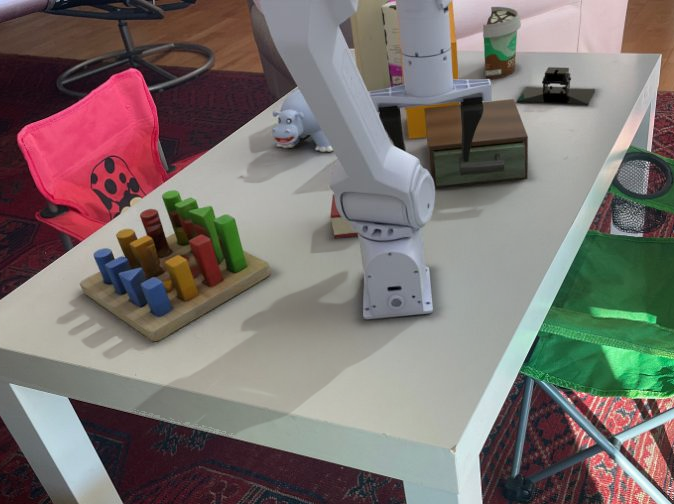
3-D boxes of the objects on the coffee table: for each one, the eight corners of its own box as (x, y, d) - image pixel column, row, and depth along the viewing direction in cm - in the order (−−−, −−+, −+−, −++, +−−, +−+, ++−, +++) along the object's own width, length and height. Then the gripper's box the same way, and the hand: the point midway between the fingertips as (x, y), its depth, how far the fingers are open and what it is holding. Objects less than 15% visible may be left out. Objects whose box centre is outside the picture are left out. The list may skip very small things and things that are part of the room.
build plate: (516, 103, 131) (516, 76, 128) (526, 88, 136) (526, 62, 133) (588, 105, 127) (589, 78, 124) (595, 90, 132) (597, 63, 129)
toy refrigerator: (403, 90, 140) (391, -34, 127) (365, 97, 139) (348, -28, 126) (395, 77, 146) (382, -43, 133) (358, 83, 145) (342, -37, 132)
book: (367, 235, 100) (363, 212, 98) (334, 238, 100) (330, 215, 98) (367, 213, 105) (364, 191, 103) (336, 216, 105) (332, 194, 103)
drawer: (528, 189, 104) (529, 157, 101) (438, 199, 104) (435, 167, 101) (512, 139, 117) (511, 109, 114) (431, 147, 118) (429, 118, 115)
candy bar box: (457, 93, 137) (452, -4, 126) (450, 103, 133) (444, 4, 123) (399, 92, 140) (389, -3, 129) (391, 102, 136) (380, 5, 126)
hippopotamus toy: (258, 161, 122) (244, 103, 116) (304, 124, 132) (293, 69, 126) (315, 167, 118) (304, 108, 112) (358, 129, 128) (349, 72, 122)
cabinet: (527, 178, 108) (527, 136, 104) (432, 188, 109) (428, 146, 105) (514, 138, 119) (513, 98, 115) (427, 147, 120) (424, 108, 116)
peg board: (81, 293, 95) (54, 234, 90) (195, 235, 104) (177, 178, 99) (155, 343, 86) (129, 280, 80) (273, 274, 95) (258, 214, 89)
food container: (517, 81, 139) (517, 24, 132) (484, 82, 140) (482, 25, 133) (524, 59, 148) (524, 4, 141) (493, 60, 149) (491, 5, 142)
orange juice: (407, 121, 129) (394, -5, 116) (458, 115, 129) (451, -11, 116) (408, 139, 123) (395, 8, 110) (462, 134, 123) (455, 2, 110)
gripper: (485, 31, 88) (489, 142, 97) (363, 45, 88) (377, 154, 97) (492, 50, 82) (495, 166, 91) (362, 64, 83) (377, 178, 92)
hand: (435, 161), depth 94 cm, fingers open, 7 cm apart
